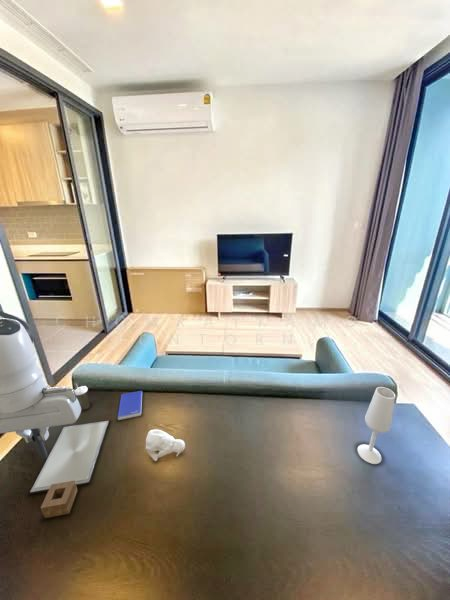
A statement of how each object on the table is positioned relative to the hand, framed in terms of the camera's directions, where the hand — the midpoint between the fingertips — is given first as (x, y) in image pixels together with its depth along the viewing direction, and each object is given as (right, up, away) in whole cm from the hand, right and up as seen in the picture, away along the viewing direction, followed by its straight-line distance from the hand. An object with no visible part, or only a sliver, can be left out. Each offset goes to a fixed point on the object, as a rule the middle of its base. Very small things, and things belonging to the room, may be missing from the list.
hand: (38, 439), depth 58 cm
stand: (0, -22, +8) cm, 23 cm away
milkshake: (-12, -10, +40) cm, 43 cm away
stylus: (0, -5, +2) cm, 6 cm away
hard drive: (+6, -10, +40) cm, 42 cm away
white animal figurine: (+25, -16, +22) cm, 37 cm away
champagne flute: (+89, -16, +20) cm, 93 cm away
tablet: (-4, -17, +22) cm, 28 cm away
